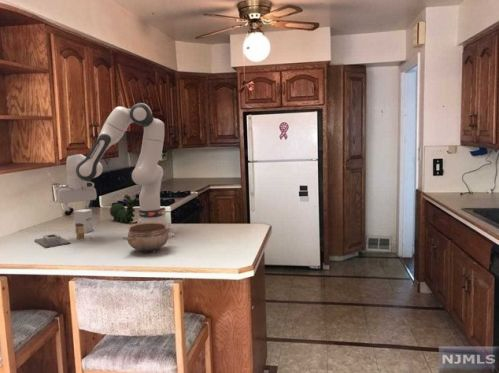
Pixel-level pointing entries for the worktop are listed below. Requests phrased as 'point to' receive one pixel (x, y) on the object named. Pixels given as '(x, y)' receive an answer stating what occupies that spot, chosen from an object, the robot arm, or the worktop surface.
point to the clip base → (51, 241)
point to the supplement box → (84, 219)
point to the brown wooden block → (80, 231)
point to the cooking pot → (147, 236)
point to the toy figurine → (123, 211)
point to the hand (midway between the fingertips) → (77, 209)
